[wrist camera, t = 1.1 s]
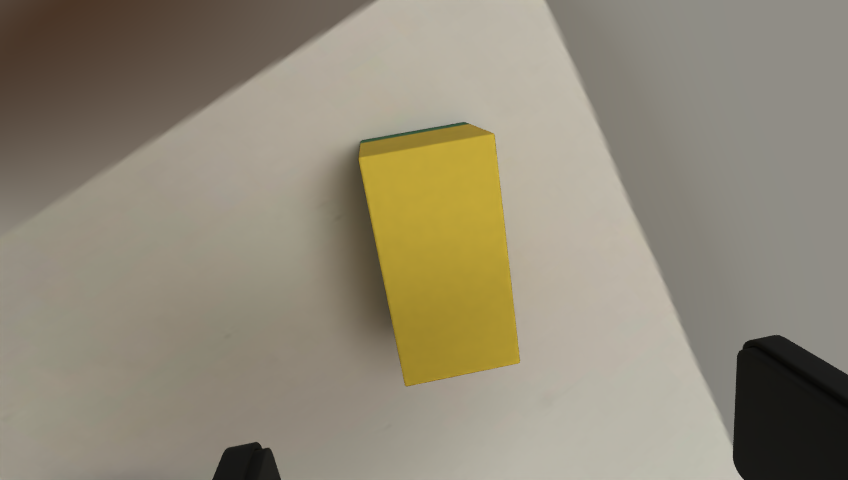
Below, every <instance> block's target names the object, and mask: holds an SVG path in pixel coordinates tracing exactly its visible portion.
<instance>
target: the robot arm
mask: <svg viewBox="0 0 848 480" xmlns="http://www.w3.org/2000/svg"><path fill="white" fill-rule="evenodd" d="M733 461H734V465H735V467H736V469H737V471H738V473H739V474H740V476H741V477H742V478H743V479H744V480H848V375H847V374H846V373H844V372H842V371H840V370H839V369H837V368H835V367H834V366H832V365H830V364H829V363H827V362H825V361H824V360H822V359H820V358H818V357H817V356H815V355H813V354H812V353H810V352H808V351H807V350H805V349H803V348H802V347H800V346H798V345H796V344H795V343H793V342H791V341H790V340H788V339H786V338H785V337H782V336H780V335H773V336H768V337H763V338H759V339H754V340H749V341H747V342H745V344H744V345H743V350H741V351H739V353H738V355H737V372H736V395H735V419H734V442H733ZM212 480H281V478H280V475H279V472H278V469H277V466H276V462H275V459H274V456H273V453H272V451H271V449H270V448H264V449H262V447H261V445H260V444H259V443H258V442H254V443H249V444H244V445H239V446H234V447H230V448H227V449H226V450H225V451H224V453H223V455H222V457H221V460H220V462H219V465H218V467H217V470H216V472H215V474H214V477H213V479H212Z"/></svg>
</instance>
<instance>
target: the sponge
mask: <svg viewBox="0 0 848 480" xmlns="http://www.w3.org/2000/svg"><path fill="white" fill-rule="evenodd" d="M358 160H359V165H360V170H361V175H362V180H363V185H364V189H365V194H366V199H367V204H368V209H369V214H370V218H371V223H372V228H373V233H374V238H375V243H376V247H377V252H378V257H379V262H380V267H381V272H382V277H383V281H384V286H385V291H386V296H387V301H388V306H389V310H390V315H391V320H392V325H393V330H394V335H395V339H396V344H397V349H398V354H399V359H400V364H401V368H402V373H403V378H404V383H405V386H411V385H416V384H421V383H426V382H431V381H435V380H440V379H445V378H450V377H455V376H460V375H464V374H469V373H474V372H479V371H484V370H489V369H493V368H498V367H503V366H508V365H513V364H518V363H520V357H519V348H518V339H517V330H516V322H515V313H514V304H513V295H512V286H511V277H510V268H509V259H508V251H507V242H506V233H505V224H504V215H503V206H502V197H501V188H500V180H499V171H498V162H497V153H496V144H495V135H494V134H493V133H491V132H488V131H486V130H483V129H481V128H478V127H476V126H473V125H471V124H468V123H466V122H462V123H457V124H451V125H446V126H440V127H434V128H429V129H423V130H417V131H412V132H406V133H401V134H395V135H389V136H384V137H378V138H372V139H367V140H362V141H361V143H360V150H359V158H358Z"/></svg>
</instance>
